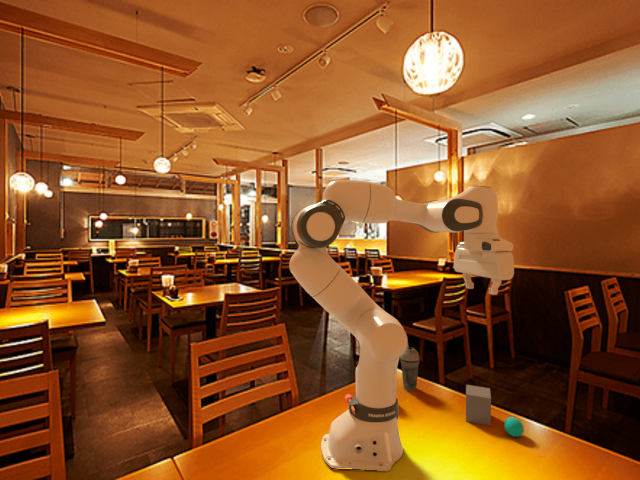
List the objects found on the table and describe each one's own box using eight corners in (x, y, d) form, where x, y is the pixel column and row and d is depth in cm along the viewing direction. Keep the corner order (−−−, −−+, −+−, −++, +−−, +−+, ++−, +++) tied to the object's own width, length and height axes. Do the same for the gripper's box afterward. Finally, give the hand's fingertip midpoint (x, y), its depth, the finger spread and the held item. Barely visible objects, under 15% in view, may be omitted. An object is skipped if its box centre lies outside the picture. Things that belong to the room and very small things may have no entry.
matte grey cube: (490, 426, 106) (491, 398, 105) (466, 421, 109) (466, 394, 108) (489, 414, 112) (489, 388, 112) (466, 410, 115) (466, 384, 115)
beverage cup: (420, 394, 126) (420, 339, 125) (400, 392, 128) (399, 339, 127) (419, 385, 133) (418, 333, 133) (399, 383, 135) (399, 332, 134)
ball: (511, 441, 98) (511, 424, 98) (500, 430, 103) (500, 414, 103) (527, 439, 99) (527, 422, 99) (515, 429, 104) (516, 413, 104)
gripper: (448, 242, 108) (448, 286, 109) (498, 245, 89) (498, 299, 89) (465, 241, 110) (465, 284, 111) (518, 244, 90) (518, 297, 91)
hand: (480, 291), depth 100 cm, fingers open, 8 cm apart
